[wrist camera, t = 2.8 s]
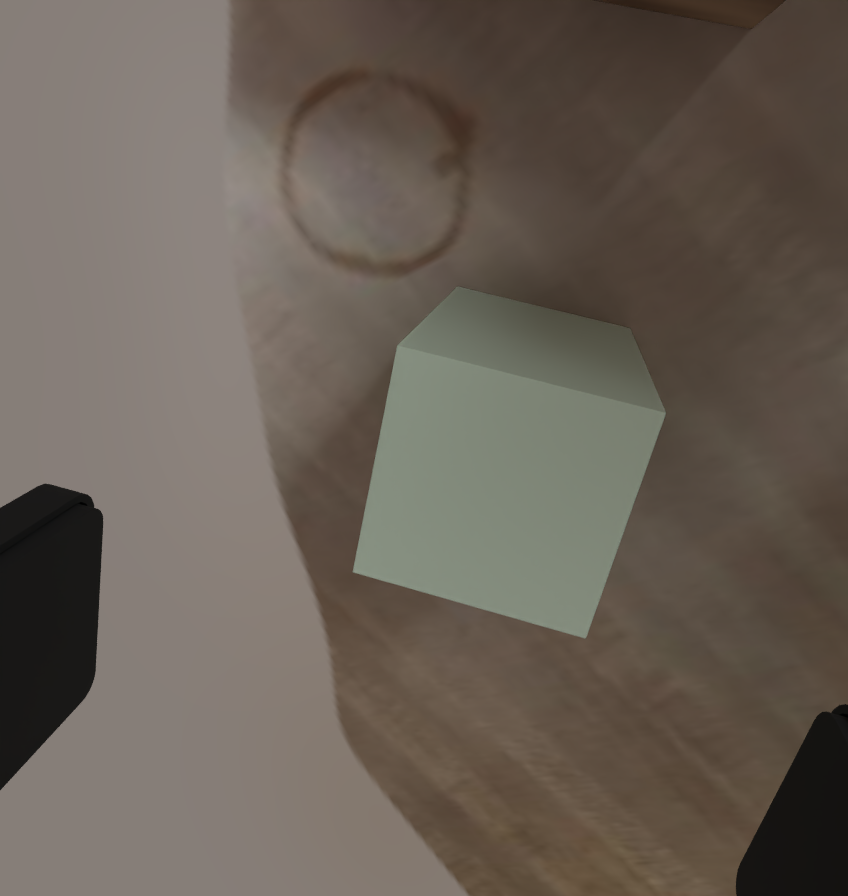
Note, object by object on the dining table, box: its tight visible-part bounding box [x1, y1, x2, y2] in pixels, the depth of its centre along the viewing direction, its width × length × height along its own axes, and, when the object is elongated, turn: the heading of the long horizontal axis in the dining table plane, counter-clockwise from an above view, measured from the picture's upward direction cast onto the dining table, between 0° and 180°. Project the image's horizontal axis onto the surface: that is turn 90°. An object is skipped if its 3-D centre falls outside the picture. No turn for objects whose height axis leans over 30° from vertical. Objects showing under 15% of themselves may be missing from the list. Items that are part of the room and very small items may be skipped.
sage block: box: [353, 286, 666, 639], centre depth 18 cm, size 5×5×8 cm
